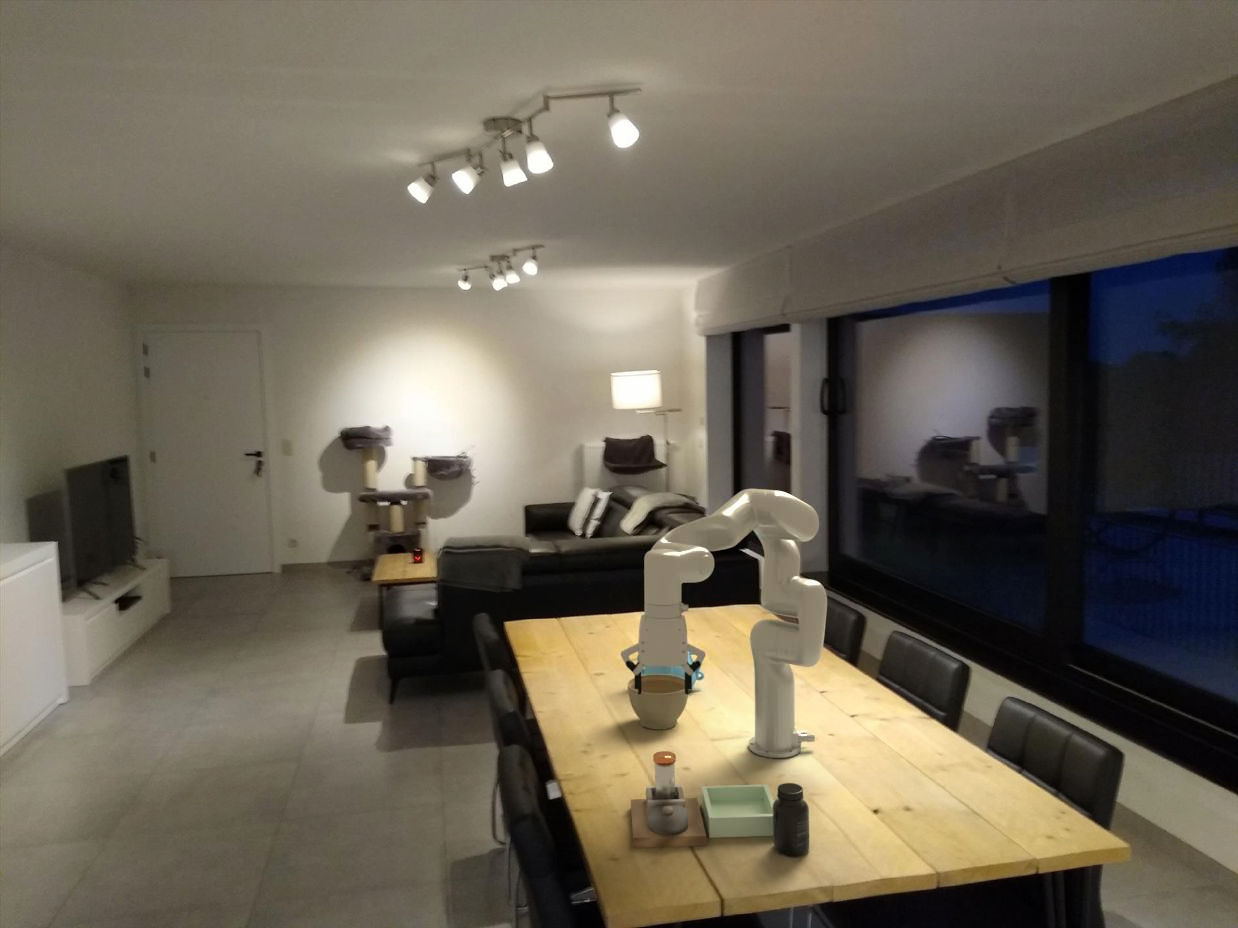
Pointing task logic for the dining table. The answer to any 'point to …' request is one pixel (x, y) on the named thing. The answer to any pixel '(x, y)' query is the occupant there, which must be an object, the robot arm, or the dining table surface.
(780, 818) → the supplement bottle
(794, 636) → the robot arm
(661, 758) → the jar with copper lid
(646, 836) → the wooden stand
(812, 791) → the dining table surface
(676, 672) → the decorative pot
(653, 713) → the planter bowl
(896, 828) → the dining table surface
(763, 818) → the tray
